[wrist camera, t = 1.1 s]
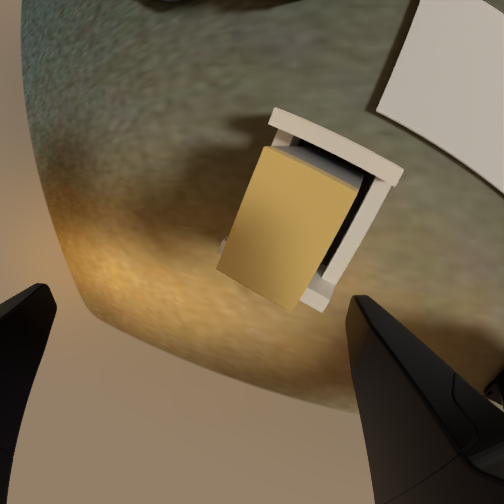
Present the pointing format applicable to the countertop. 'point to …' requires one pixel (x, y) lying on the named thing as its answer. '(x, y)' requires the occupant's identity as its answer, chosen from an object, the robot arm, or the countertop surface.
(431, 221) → the countertop surface
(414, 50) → the mat
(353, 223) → the white rectangular frame
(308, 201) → the plug
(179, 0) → the crumpled dark cloth
